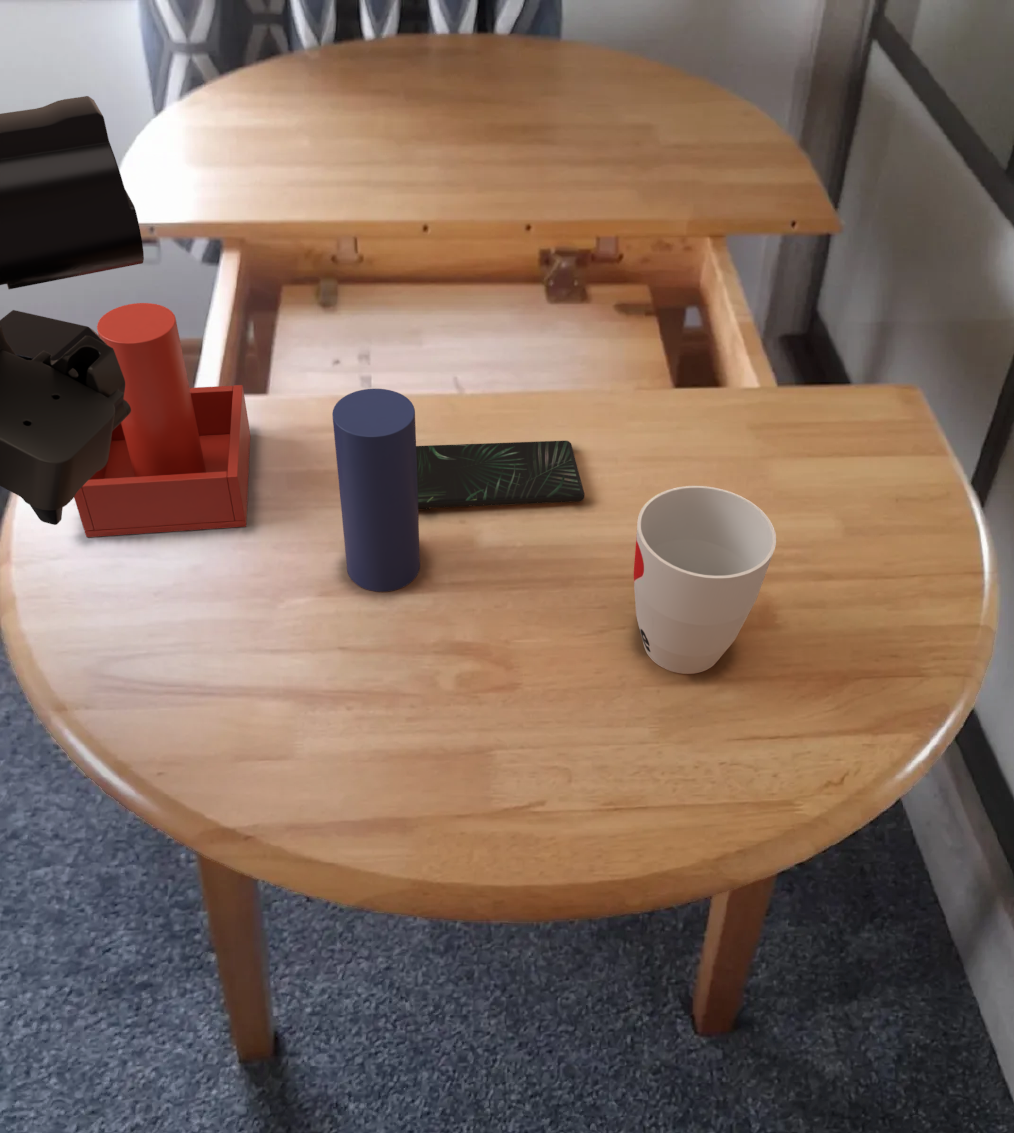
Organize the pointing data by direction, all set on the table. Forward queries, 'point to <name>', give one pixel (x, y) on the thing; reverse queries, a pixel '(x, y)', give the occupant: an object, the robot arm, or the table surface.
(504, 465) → the smartphone
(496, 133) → the table surface
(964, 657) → the table surface
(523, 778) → the table surface
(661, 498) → the cup
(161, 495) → the red bin
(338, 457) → the navy cylinder
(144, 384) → the red cylinder
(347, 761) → the table surface
